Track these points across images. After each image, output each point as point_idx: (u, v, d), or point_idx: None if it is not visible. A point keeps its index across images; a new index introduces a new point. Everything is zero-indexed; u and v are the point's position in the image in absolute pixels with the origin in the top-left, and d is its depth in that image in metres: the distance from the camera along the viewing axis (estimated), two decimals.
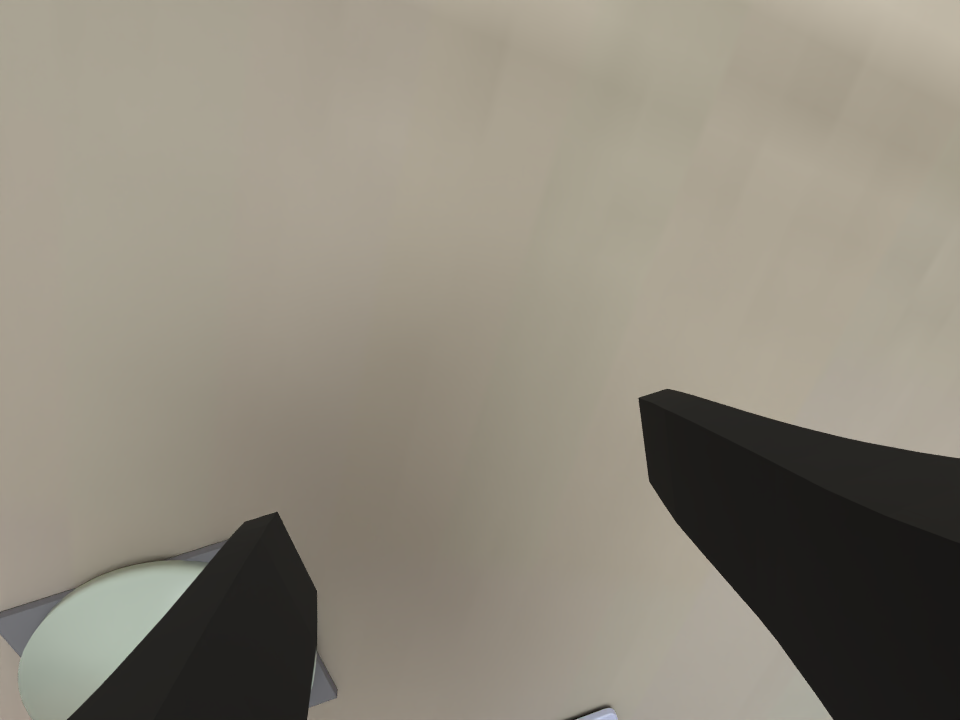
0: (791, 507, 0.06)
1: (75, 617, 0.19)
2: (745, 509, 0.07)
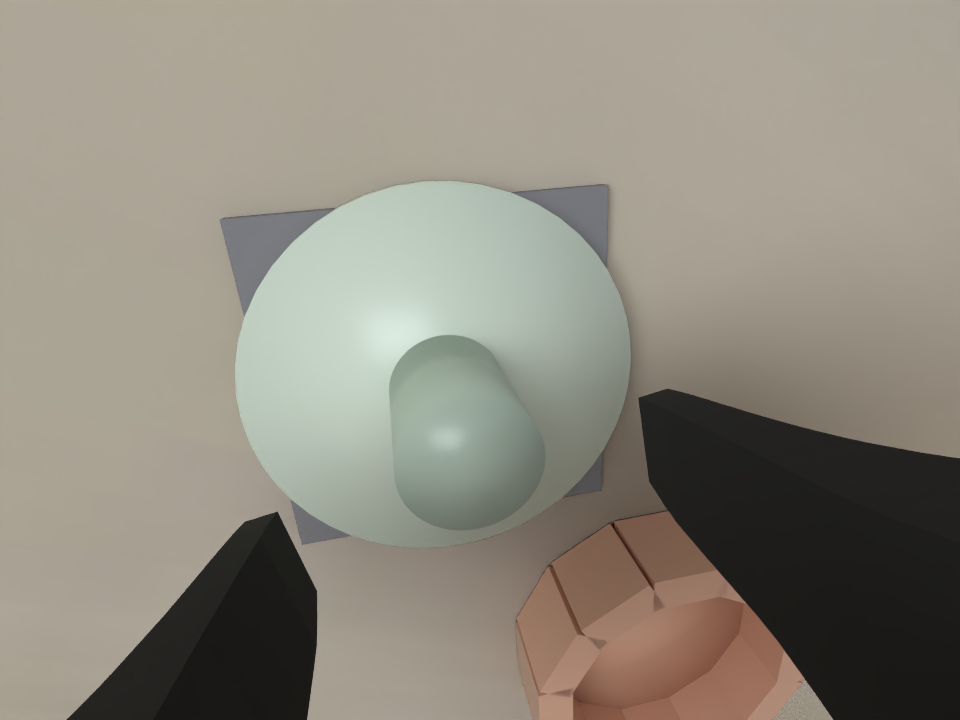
0: (791, 507, 0.06)
1: (290, 465, 0.14)
2: (745, 508, 0.07)
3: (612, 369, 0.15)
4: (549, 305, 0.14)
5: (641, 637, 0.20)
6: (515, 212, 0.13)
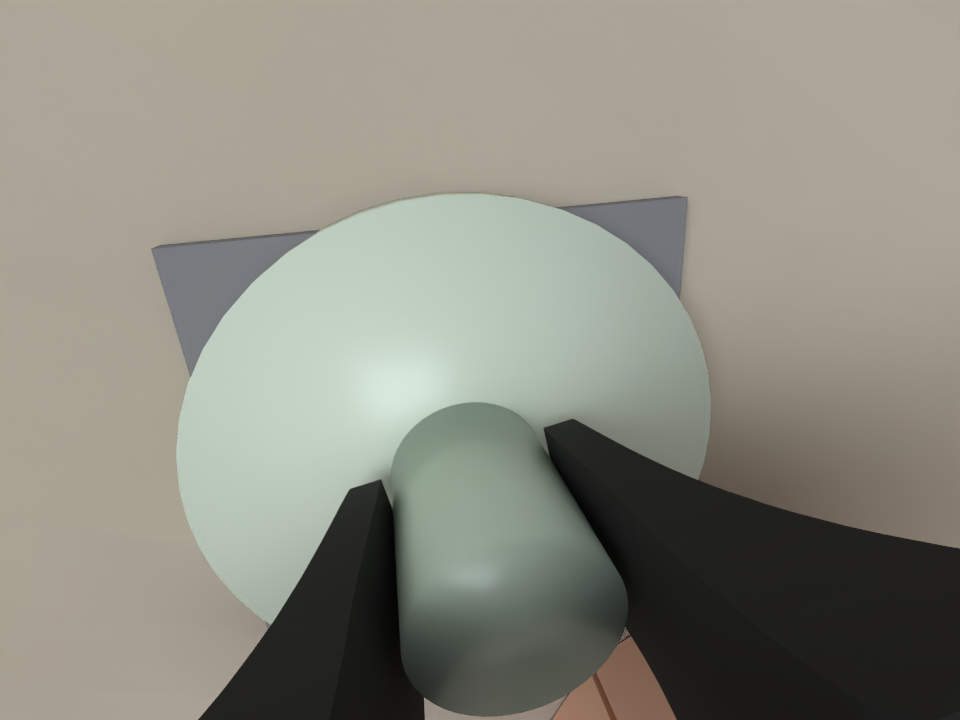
0: (648, 556, 0.06)
1: (258, 575, 0.11)
2: (621, 551, 0.07)
3: (686, 440, 0.12)
4: (608, 360, 0.10)
5: None
6: (567, 236, 0.09)
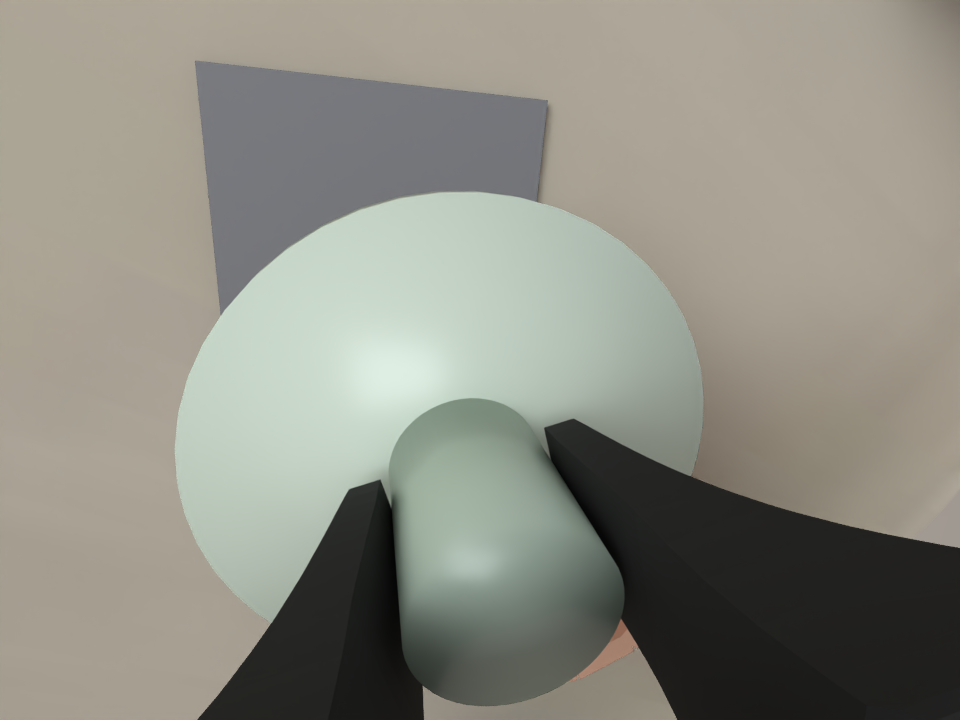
0: (649, 556, 0.06)
1: (255, 571, 0.11)
2: (621, 551, 0.07)
3: (679, 436, 0.12)
4: (603, 357, 0.11)
5: None
6: (564, 235, 0.09)
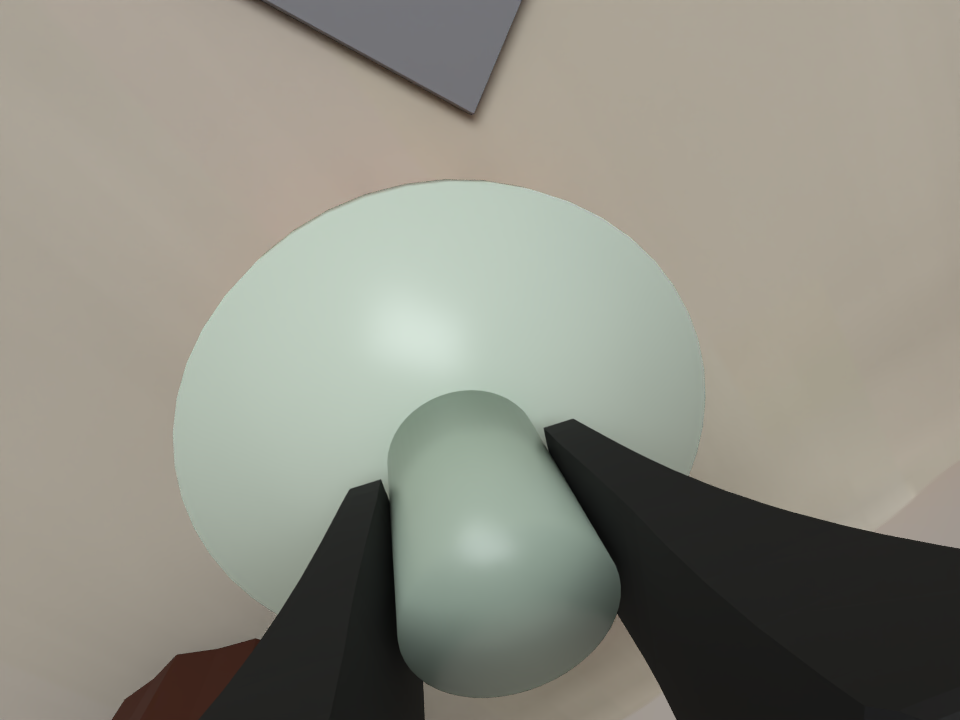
0: (648, 556, 0.06)
1: (251, 556, 0.11)
2: (621, 551, 0.07)
3: (679, 434, 0.12)
4: (606, 353, 0.10)
5: None
6: (572, 228, 0.09)
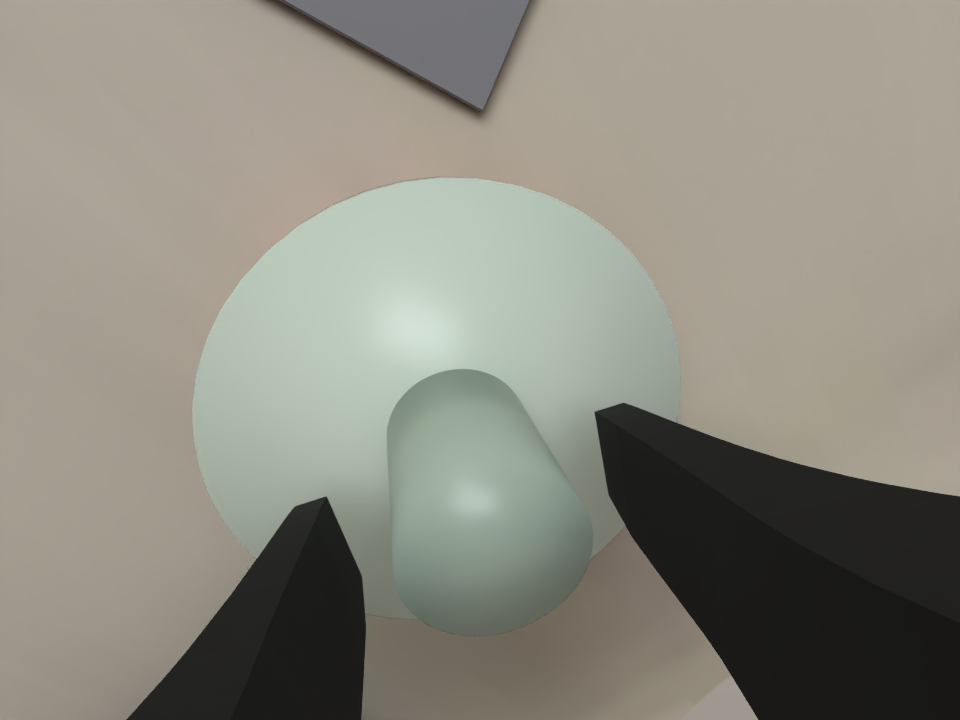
0: (725, 530, 0.06)
1: (261, 523, 0.12)
2: (687, 528, 0.07)
3: (658, 413, 0.13)
4: (587, 335, 0.11)
5: None
6: (552, 220, 0.10)
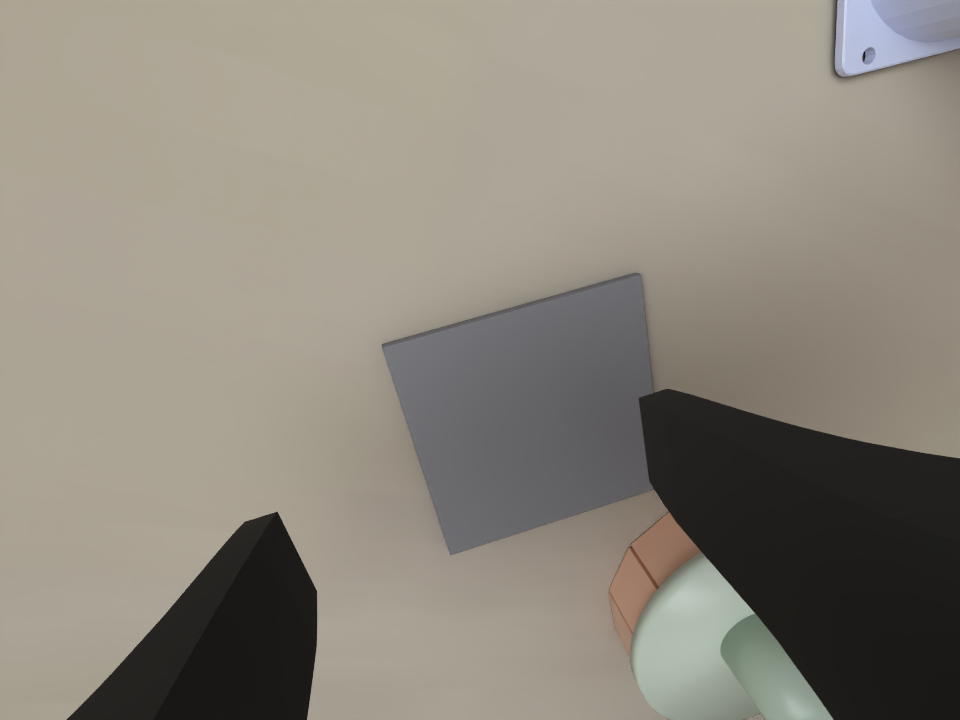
0: (791, 507, 0.06)
1: (690, 713, 0.24)
2: (745, 509, 0.07)
3: None
4: None
5: None
6: None
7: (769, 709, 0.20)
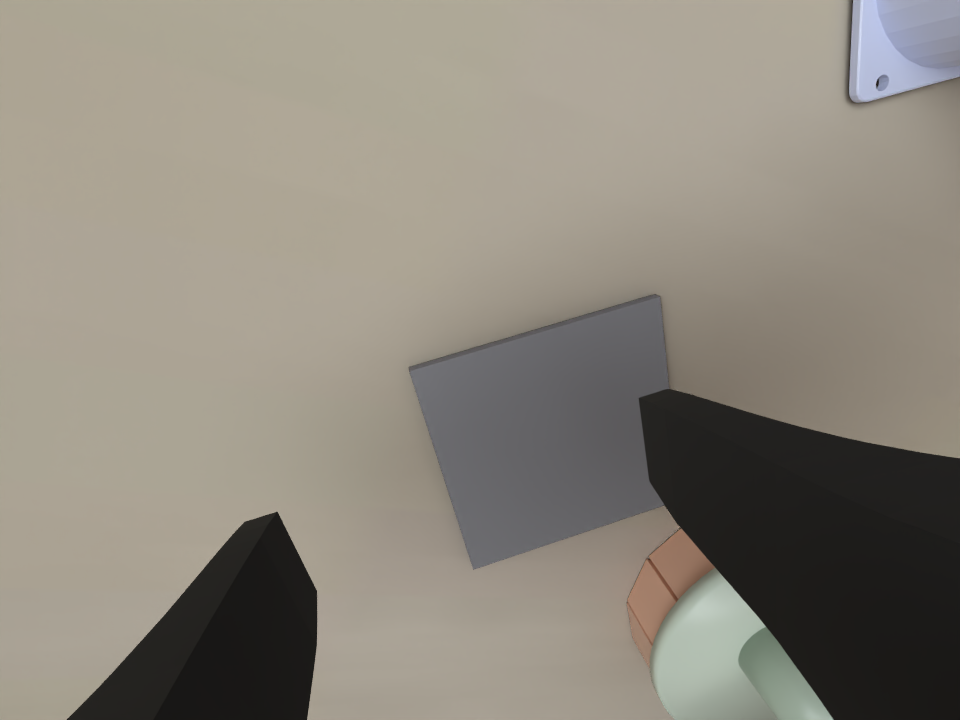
0: (791, 507, 0.06)
1: None
2: (745, 509, 0.07)
3: None
4: None
5: None
6: None
7: (788, 719, 0.20)
